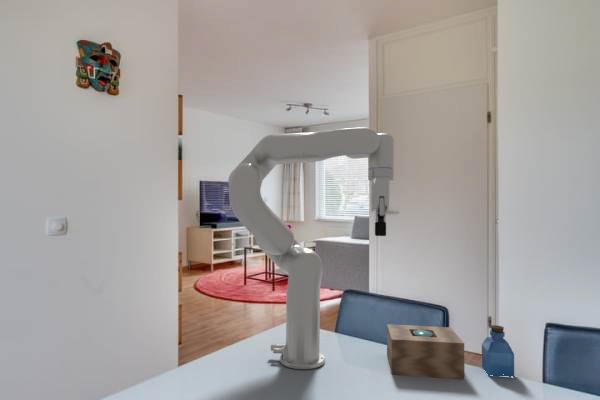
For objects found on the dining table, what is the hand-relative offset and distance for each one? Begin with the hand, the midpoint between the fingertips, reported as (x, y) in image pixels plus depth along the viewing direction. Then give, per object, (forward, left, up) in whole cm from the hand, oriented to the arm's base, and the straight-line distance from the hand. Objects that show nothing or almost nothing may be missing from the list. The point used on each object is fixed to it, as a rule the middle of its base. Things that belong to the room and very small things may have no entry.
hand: (380, 235), depth 117 cm
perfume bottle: (+30, -9, -35) cm, 47 cm away
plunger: (+11, -8, -35) cm, 37 cm away
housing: (+11, -8, -35) cm, 38 cm away
